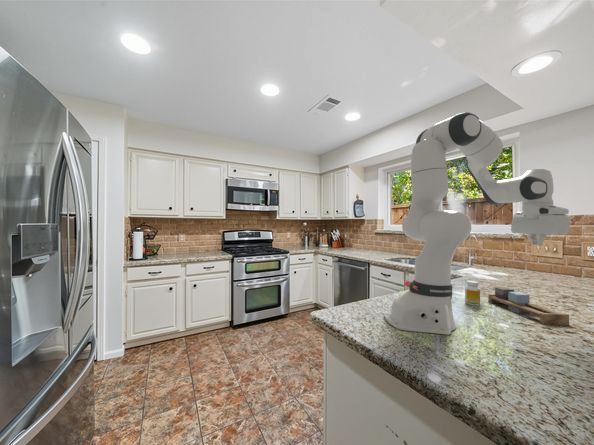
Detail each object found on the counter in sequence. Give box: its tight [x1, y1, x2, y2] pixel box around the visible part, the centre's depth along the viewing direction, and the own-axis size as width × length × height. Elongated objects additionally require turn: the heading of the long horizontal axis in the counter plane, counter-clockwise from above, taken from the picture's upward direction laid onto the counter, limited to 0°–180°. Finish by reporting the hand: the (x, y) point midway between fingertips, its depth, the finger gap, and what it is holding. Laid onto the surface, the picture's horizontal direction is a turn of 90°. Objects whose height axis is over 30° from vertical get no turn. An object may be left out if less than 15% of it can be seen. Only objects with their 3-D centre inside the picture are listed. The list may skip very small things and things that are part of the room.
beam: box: [487, 286, 570, 326], centre depth 97 cm, size 9×24×7 cm, turn 0°
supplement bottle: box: [464, 280, 481, 307], centre depth 106 cm, size 5×5×10 cm
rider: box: [508, 291, 531, 306], centre depth 99 cm, size 5×4×4 cm
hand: (536, 245), depth 96 cm, fingers closed
